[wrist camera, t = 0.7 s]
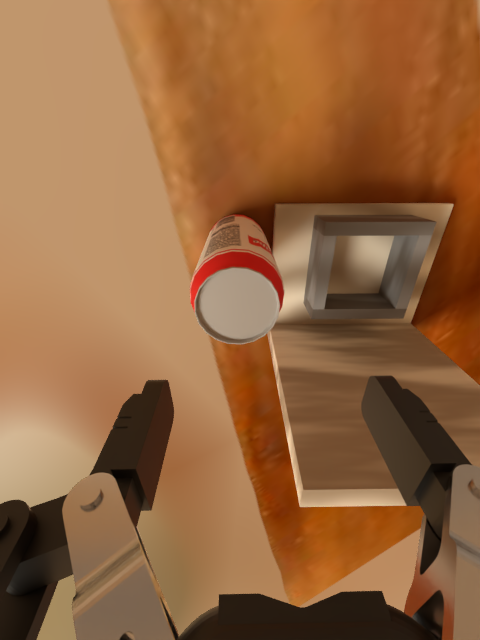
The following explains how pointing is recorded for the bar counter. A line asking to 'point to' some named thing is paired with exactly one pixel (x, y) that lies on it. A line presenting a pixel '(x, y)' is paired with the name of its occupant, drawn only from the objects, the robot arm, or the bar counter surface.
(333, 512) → the bar counter surface
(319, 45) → the bar counter surface
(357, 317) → the can rack
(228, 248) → the beer can
